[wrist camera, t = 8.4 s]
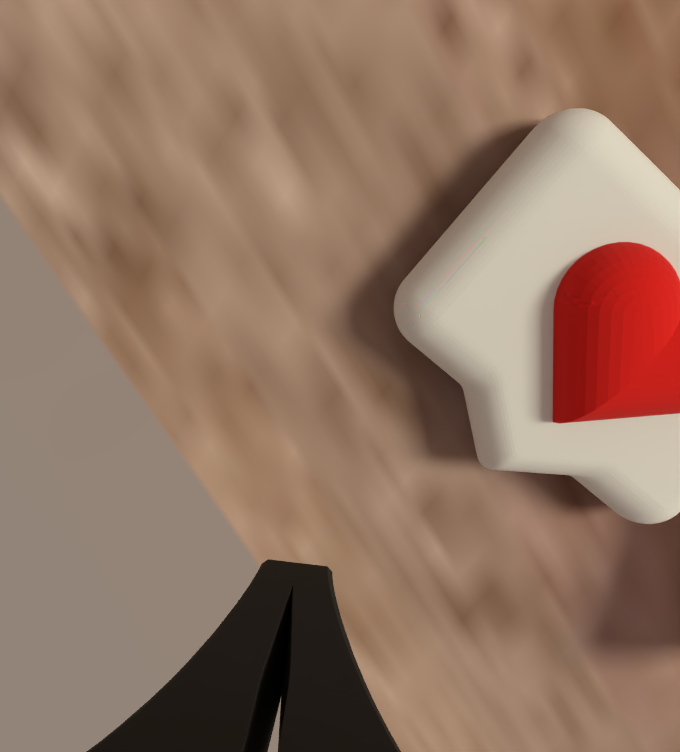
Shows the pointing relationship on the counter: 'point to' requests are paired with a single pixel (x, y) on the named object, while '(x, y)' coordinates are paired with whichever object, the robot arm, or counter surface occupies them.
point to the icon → (564, 314)
